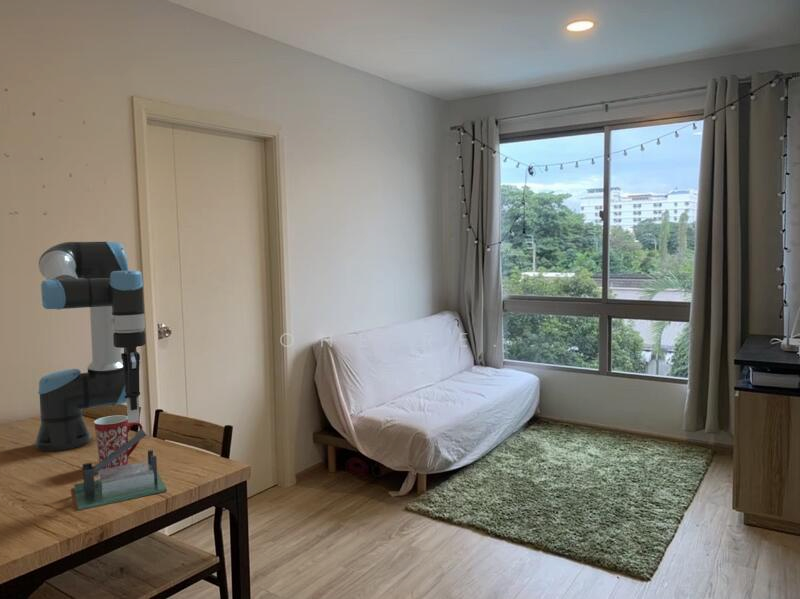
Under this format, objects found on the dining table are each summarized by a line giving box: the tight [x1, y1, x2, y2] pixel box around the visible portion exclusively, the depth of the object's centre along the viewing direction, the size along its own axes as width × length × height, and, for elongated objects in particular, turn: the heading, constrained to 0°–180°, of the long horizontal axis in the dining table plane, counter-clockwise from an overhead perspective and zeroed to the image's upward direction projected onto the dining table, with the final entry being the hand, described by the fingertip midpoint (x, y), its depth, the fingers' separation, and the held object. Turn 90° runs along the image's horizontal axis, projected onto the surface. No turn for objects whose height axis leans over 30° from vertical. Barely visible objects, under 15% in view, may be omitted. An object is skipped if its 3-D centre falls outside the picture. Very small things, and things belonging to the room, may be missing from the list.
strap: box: [92, 428, 147, 475], centre depth 152 cm, size 17×3×2 cm
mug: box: [93, 414, 144, 469], centre depth 172 cm, size 13×9×14 cm
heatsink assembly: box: [73, 449, 168, 511], centre depth 153 cm, size 20×16×8 cm
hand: (133, 421), depth 154 cm, fingers closed
